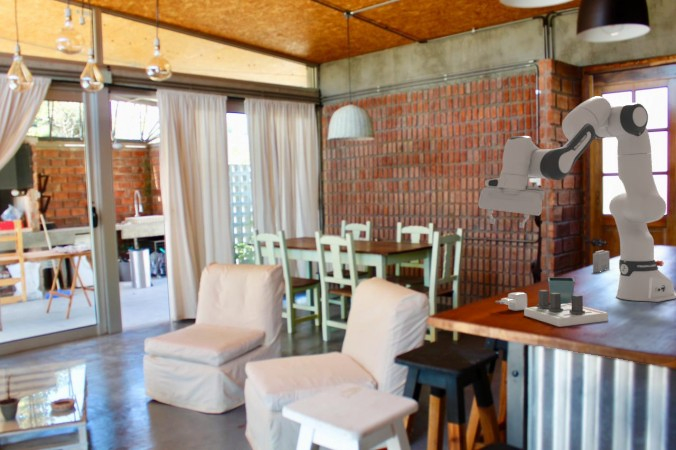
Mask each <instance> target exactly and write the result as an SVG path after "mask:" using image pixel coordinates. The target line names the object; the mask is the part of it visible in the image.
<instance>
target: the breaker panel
mask: <svg viewBox="0 0 676 450" xmlns="http://www.w3.org/2000/svg"><path fill="white" fill-rule="evenodd" d="M561 308H562V309H563V311H560V312H552V311H549V310H548V308H545V309H542V308H538V307H537V306H531V307H527V308H524V310H523V312H524V313H523V314H524V315H523V316H525V317H527V318H528V317H529V318H531V319H534V320H537V321H541V322H543V323H546V324H550V325H552V326H553V325H554V326H555V327H568V326H569V327H570V326H576V325H577V326H578V325H583V324H584V325H585V324H591V323H599V322H608V321H609V313H608V312H607V311H602V310H600V309H599V310H598V309H595V308H591V307H587V306H583V311H585V314H577V315H576V314H572V313H570V310H572V302H570V303H566V304H561Z"/></svg>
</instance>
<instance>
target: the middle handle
mask: <svg viewBox="0 0 676 450" xmlns="http://www.w3.org/2000/svg"><path fill="white" fill-rule="evenodd" d="M549 305H550V308H548V310H549V311H552V312H560V311H563V309H562V308H561V294H559V293H550V292H549Z"/></svg>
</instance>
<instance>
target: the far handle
mask: <svg viewBox="0 0 676 450" xmlns="http://www.w3.org/2000/svg"><path fill="white" fill-rule="evenodd" d="M536 307H538V308H542V309H545V308H550V292H549V290H547V289H540V290H538V304H536Z"/></svg>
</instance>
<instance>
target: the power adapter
mask: <svg viewBox="0 0 676 450" xmlns="http://www.w3.org/2000/svg"><path fill="white" fill-rule="evenodd" d="M495 303H496V304H498V303H499V304H500V305H506V306H508V307H507V308H508V310H511V311H524V308H528V295H527V293H525V292H523V291H517V292H516V291H515V292H510V293H508V294H507V297H503V298H500V300H495Z"/></svg>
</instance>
